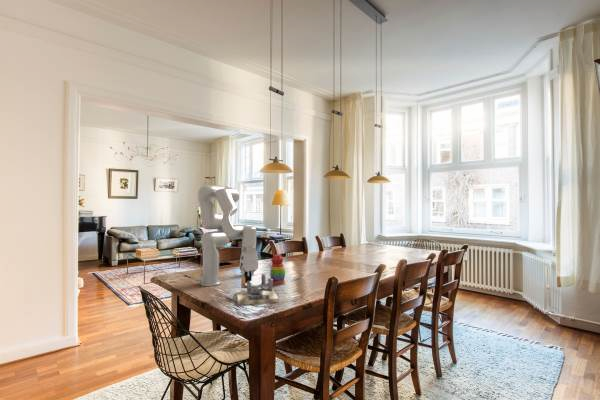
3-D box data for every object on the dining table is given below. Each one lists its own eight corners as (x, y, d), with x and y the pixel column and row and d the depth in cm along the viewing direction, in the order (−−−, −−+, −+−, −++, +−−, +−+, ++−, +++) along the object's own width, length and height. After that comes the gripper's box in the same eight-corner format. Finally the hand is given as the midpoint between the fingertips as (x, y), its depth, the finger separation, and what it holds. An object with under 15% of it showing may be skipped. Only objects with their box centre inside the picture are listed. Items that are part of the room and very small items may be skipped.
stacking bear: (269, 280, 204) (270, 252, 204) (285, 281, 204) (286, 253, 204) (267, 285, 194) (268, 255, 194) (284, 285, 193) (284, 256, 193)
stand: (237, 305, 155) (237, 297, 155) (235, 293, 175) (235, 286, 175) (278, 302, 160) (279, 295, 160) (272, 291, 180) (272, 284, 180)
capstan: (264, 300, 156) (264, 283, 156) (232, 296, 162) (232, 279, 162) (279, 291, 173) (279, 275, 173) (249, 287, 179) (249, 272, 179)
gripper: (243, 251, 165) (242, 287, 165) (263, 248, 177) (262, 281, 177) (233, 250, 170) (233, 284, 170) (254, 247, 182) (253, 279, 182)
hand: (248, 283), depth 174 cm, fingers closed
